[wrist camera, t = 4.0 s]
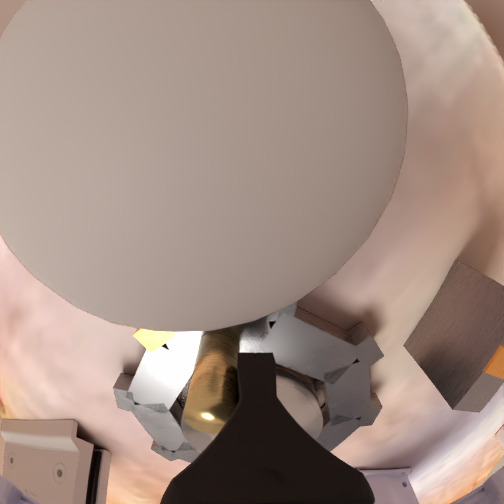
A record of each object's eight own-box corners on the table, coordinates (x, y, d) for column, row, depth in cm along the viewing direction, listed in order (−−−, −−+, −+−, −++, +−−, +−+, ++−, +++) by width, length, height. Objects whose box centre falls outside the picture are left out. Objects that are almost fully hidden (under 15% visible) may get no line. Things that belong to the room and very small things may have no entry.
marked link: (480, 281, 14) (543, 321, 8) (433, 357, 15) (481, 414, 9) (454, 258, 13) (528, 300, 7) (402, 345, 15) (453, 411, 9)
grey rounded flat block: (76, 418, 16) (69, 527, 8) (114, 439, 19) (114, 534, 11) (1, 418, 18) (-10, 487, 9) (30, 436, 20) (23, 501, 12)
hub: (338, 375, 15) (352, 407, 12) (275, 444, 17) (279, 475, 14) (216, 332, 14) (210, 366, 11) (172, 415, 16) (164, 447, 13)
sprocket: (366, 250, 13) (437, 302, 7) (373, 435, 17) (396, 491, 11) (82, 320, 13) (27, 383, 8) (185, 470, 17) (177, 525, 12)
